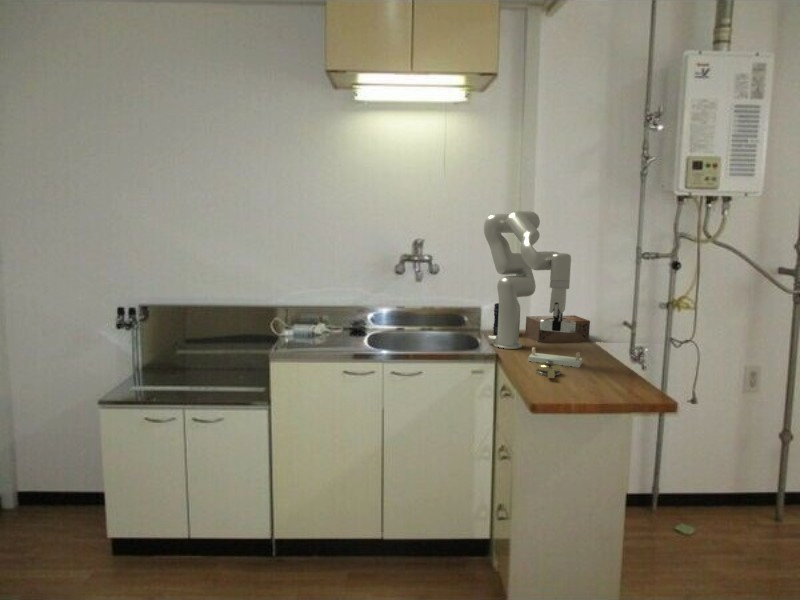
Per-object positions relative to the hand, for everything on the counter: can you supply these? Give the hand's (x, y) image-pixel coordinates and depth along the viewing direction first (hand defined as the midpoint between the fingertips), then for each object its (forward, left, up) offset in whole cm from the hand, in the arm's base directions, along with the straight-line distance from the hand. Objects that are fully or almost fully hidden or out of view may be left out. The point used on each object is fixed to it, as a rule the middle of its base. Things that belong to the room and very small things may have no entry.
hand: (557, 329), depth 246 cm
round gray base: (0, -18, -14) cm, 23 cm away
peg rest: (0, 0, -14) cm, 14 cm away
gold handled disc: (+1, -21, -12) cm, 25 cm away
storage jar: (-32, +44, -14) cm, 56 cm away
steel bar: (0, 0, 0) cm, 0 cm away
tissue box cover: (-7, +48, -14) cm, 50 cm away
